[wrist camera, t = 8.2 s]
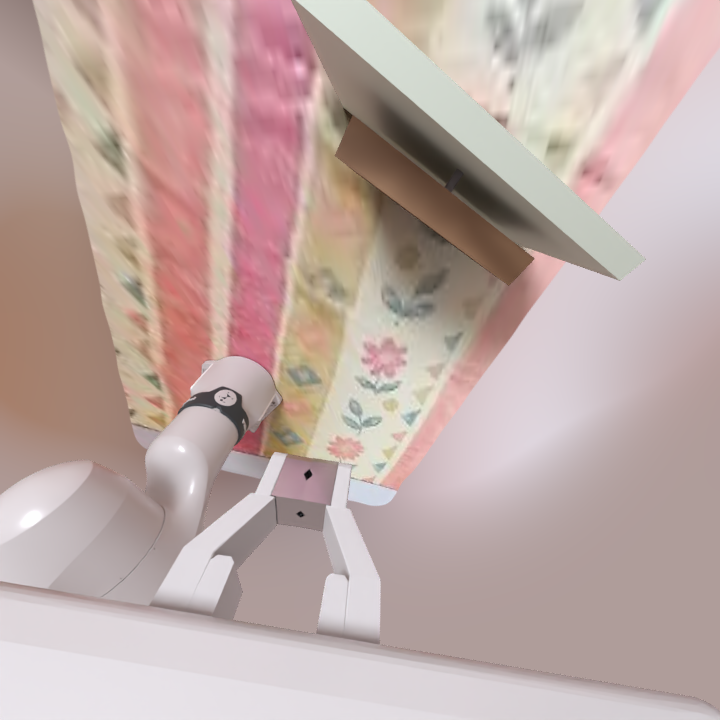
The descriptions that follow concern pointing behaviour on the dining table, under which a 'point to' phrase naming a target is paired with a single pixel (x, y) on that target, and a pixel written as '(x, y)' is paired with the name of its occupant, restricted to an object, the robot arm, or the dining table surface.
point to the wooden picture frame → (430, 201)
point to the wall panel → (455, 137)
